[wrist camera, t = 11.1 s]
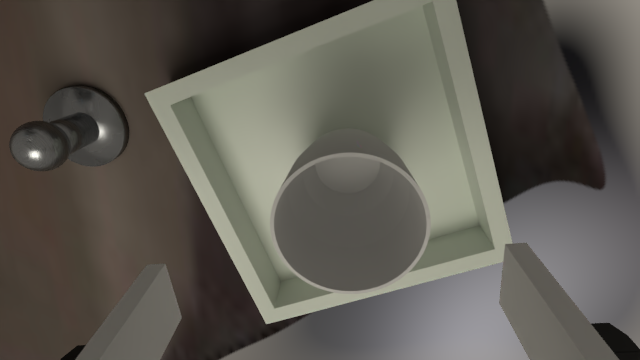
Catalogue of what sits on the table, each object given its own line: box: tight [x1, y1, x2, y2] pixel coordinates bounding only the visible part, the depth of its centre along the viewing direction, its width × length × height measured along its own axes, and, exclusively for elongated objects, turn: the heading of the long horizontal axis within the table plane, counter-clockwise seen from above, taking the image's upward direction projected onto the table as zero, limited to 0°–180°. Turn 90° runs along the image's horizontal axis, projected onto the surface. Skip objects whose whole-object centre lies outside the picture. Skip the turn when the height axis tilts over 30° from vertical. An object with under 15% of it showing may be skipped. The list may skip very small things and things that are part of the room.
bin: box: [145, 0, 513, 324], centre depth 28 cm, size 19×19×4 cm
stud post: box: [9, 86, 129, 171], centre depth 27 cm, size 6×6×7 cm
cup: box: [270, 128, 431, 294], centre depth 25 cm, size 8×8×10 cm
